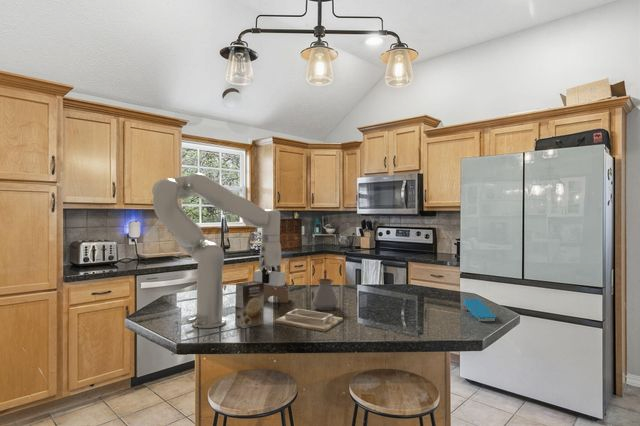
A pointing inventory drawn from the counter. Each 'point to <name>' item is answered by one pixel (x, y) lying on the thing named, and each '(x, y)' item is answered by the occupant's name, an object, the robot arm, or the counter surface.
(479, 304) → the blue block
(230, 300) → the counter surface
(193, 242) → the robot arm
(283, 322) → the cradle
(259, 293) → the coffee box
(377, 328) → the counter surface
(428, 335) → the counter surface
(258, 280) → the white block
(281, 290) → the wooden toy
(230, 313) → the counter surface
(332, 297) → the coffee pot
